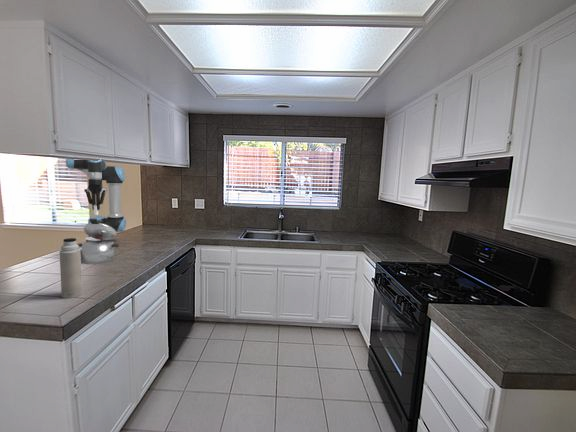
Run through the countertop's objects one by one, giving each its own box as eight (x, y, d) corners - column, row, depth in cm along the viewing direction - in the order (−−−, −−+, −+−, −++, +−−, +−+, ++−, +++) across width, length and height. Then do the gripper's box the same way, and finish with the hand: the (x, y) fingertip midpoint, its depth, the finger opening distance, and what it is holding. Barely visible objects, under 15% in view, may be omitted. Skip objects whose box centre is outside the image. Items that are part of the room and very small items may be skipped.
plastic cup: (94, 256, 206) (93, 240, 204) (81, 255, 208) (81, 238, 206) (106, 252, 216) (106, 237, 215) (94, 251, 218) (94, 235, 217)
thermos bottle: (58, 298, 136) (55, 240, 133) (66, 292, 144) (64, 237, 140) (77, 298, 138) (75, 240, 135) (85, 291, 146) (82, 237, 142)
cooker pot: (85, 256, 204) (84, 240, 203) (123, 256, 209) (123, 240, 207) (71, 264, 187) (70, 245, 185) (113, 264, 191) (112, 246, 190)
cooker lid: (90, 239, 204) (91, 235, 206) (119, 240, 207) (120, 236, 209) (76, 220, 186) (78, 216, 188) (108, 221, 189) (110, 216, 191)
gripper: (81, 178, 185) (82, 215, 187) (103, 179, 187) (104, 215, 190) (87, 178, 192) (88, 213, 195) (108, 179, 194) (109, 214, 197)
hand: (96, 214), depth 192 cm, fingers closed
